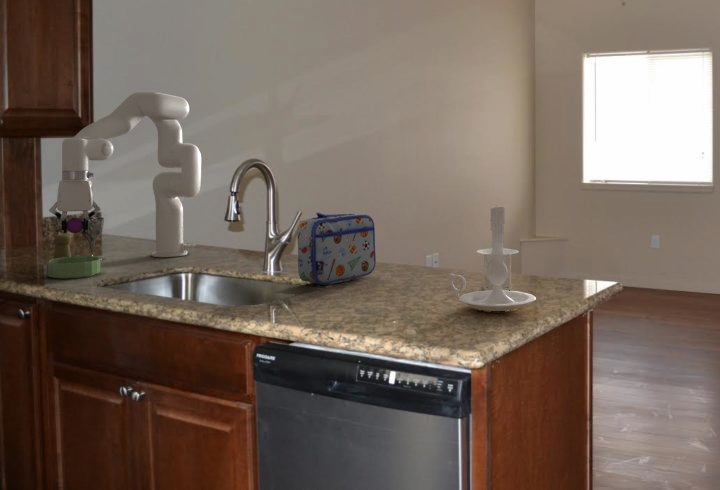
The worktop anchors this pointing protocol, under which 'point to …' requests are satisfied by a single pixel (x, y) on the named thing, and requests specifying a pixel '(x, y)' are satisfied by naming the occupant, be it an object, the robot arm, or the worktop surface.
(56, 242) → the cork
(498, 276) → the candlestick
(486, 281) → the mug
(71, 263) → the bowl
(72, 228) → the ball
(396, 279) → the worktop surface
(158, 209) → the robot arm
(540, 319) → the worktop surface
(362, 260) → the lunch box
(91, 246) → the wine glass
